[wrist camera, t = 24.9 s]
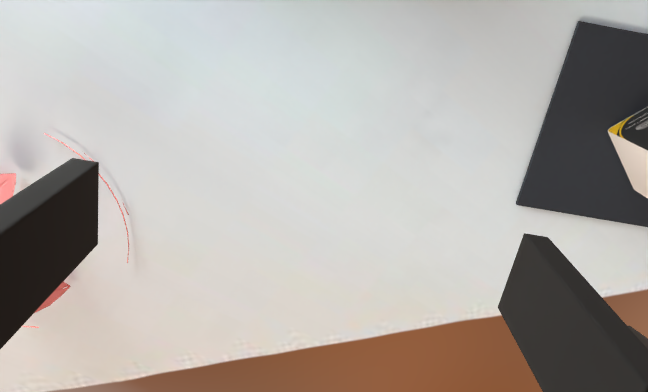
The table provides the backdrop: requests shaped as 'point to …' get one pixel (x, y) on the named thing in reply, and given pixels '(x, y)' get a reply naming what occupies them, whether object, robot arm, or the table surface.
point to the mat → (590, 129)
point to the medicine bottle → (633, 148)
